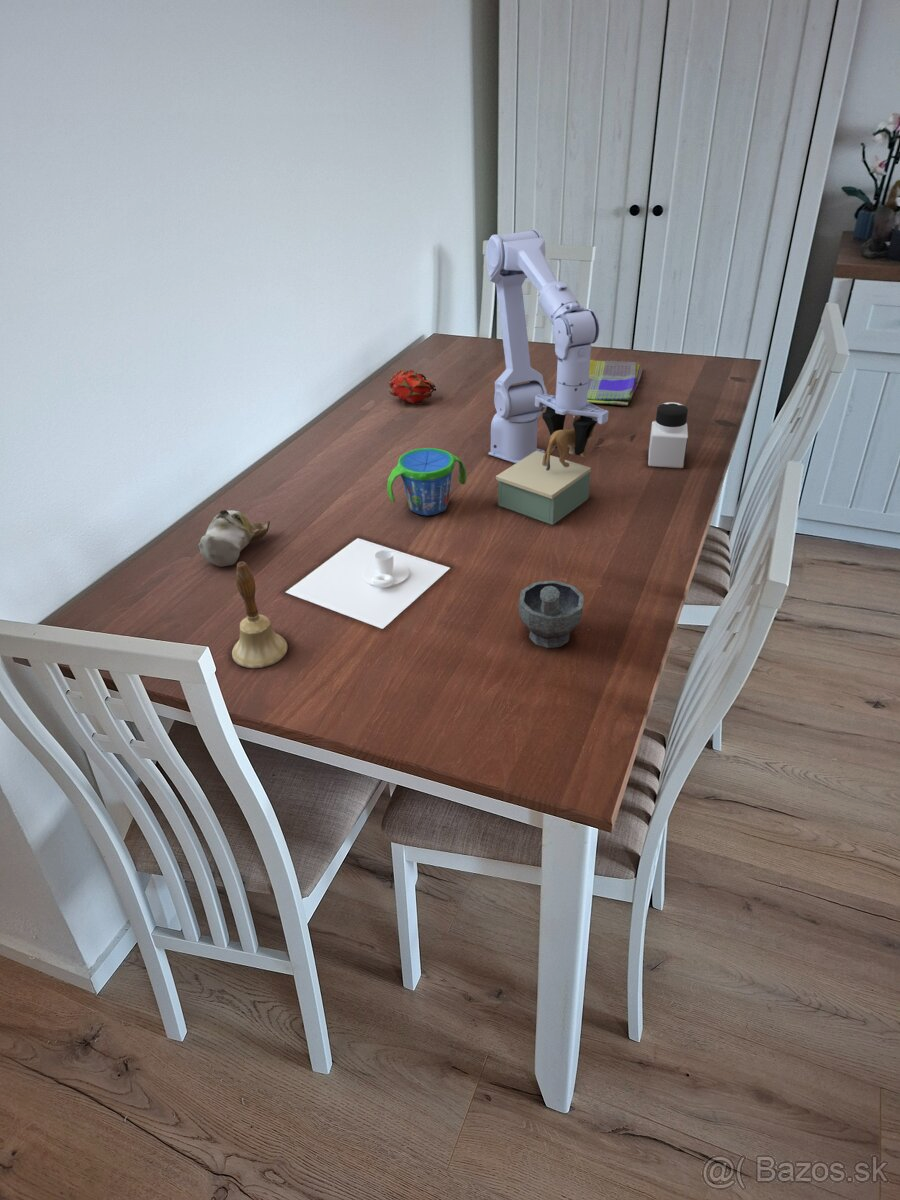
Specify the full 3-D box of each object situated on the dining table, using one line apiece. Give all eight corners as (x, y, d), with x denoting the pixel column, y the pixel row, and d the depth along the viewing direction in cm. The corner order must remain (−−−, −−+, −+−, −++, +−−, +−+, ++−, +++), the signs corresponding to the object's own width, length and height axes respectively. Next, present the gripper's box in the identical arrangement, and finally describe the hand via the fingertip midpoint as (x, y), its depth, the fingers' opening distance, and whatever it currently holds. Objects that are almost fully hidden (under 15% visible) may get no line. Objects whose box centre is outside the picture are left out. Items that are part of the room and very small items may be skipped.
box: (552, 525, 156) (554, 497, 153) (497, 505, 163) (498, 478, 160) (588, 498, 164) (590, 471, 161) (534, 480, 171) (535, 454, 167)
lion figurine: (574, 442, 167) (578, 399, 162) (598, 449, 164) (603, 405, 159) (535, 470, 157) (538, 424, 152) (560, 477, 154) (563, 431, 149)
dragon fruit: (387, 404, 209) (433, 415, 207) (379, 395, 201) (427, 406, 199) (396, 370, 209) (442, 381, 207) (388, 360, 200) (436, 371, 199)
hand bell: (285, 666, 125) (269, 577, 116) (228, 670, 125) (208, 581, 115) (289, 632, 132) (274, 545, 122) (235, 636, 131) (216, 548, 122)
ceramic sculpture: (177, 526, 142) (213, 489, 154) (186, 571, 146) (220, 531, 159) (237, 531, 140) (269, 493, 152) (244, 576, 145) (275, 536, 157)
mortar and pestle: (522, 613, 134) (524, 549, 127) (582, 619, 133) (587, 554, 126) (514, 658, 125) (515, 591, 118) (578, 664, 124) (583, 597, 117)
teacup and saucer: (389, 595, 139) (387, 575, 137) (350, 582, 143) (348, 562, 140) (418, 570, 145) (417, 550, 143) (380, 557, 149) (379, 538, 146)
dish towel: (557, 401, 204) (557, 390, 202) (575, 366, 223) (576, 355, 221) (630, 408, 199) (631, 396, 198) (642, 371, 218) (644, 361, 217)
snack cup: (396, 528, 157) (393, 478, 151) (381, 502, 165) (378, 454, 159) (475, 513, 161) (475, 464, 155) (457, 488, 169) (456, 441, 163)
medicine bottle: (683, 469, 173) (691, 413, 166) (648, 466, 175) (654, 411, 168) (682, 453, 179) (690, 400, 172) (648, 451, 180) (654, 398, 173)
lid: (551, 499, 153) (552, 495, 152) (495, 479, 159) (495, 476, 159) (590, 471, 161) (591, 467, 160) (535, 454, 167) (536, 450, 167)
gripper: (526, 378, 153) (524, 447, 161) (596, 396, 145) (590, 467, 153) (547, 367, 157) (544, 434, 165) (616, 383, 150) (610, 453, 158)
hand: (568, 449), depth 160 cm, fingers closed on lion figurine, 4 cm apart
